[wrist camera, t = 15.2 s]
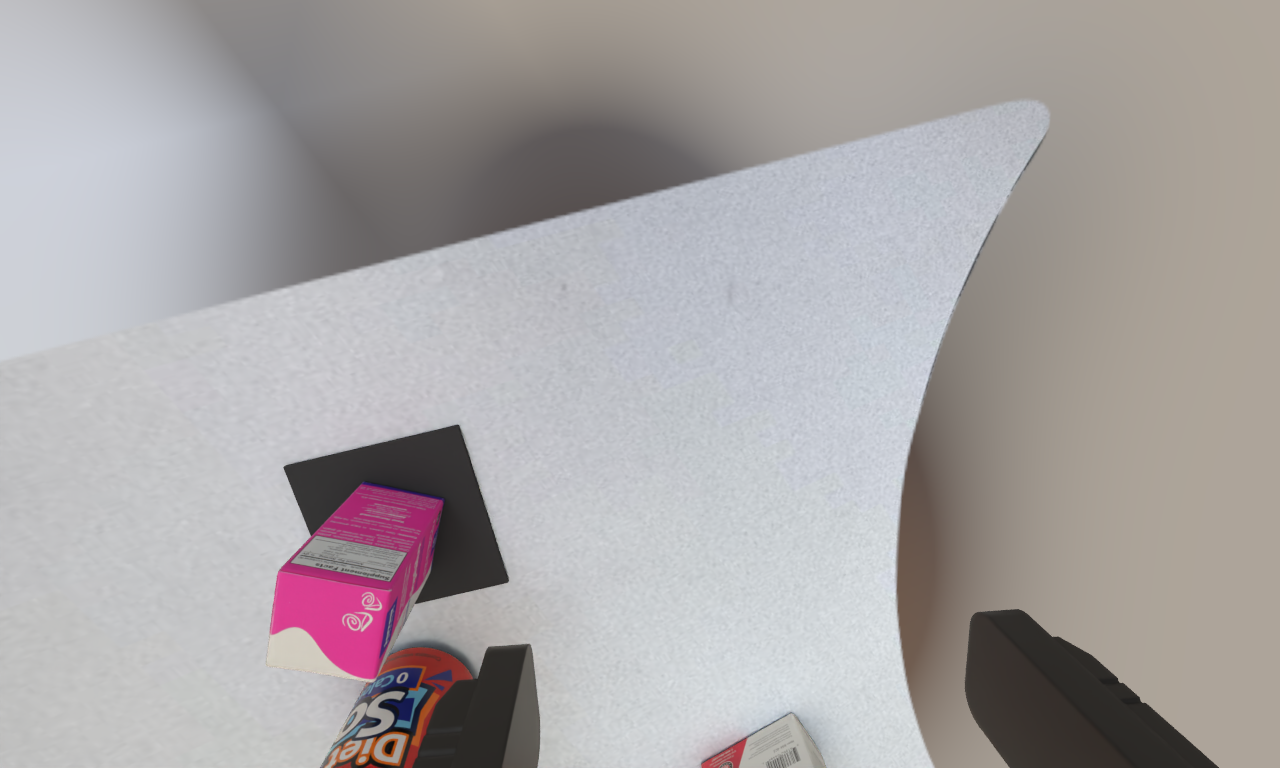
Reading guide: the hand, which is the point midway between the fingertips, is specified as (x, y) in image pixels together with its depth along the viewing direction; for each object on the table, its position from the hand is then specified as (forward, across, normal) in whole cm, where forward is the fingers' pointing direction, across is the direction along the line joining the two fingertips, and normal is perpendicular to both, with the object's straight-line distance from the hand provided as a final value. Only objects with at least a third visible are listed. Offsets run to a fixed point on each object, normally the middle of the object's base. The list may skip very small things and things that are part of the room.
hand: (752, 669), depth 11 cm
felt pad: (+30, +18, +11) cm, 37 cm away
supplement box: (+30, +18, +11) cm, 37 cm away
